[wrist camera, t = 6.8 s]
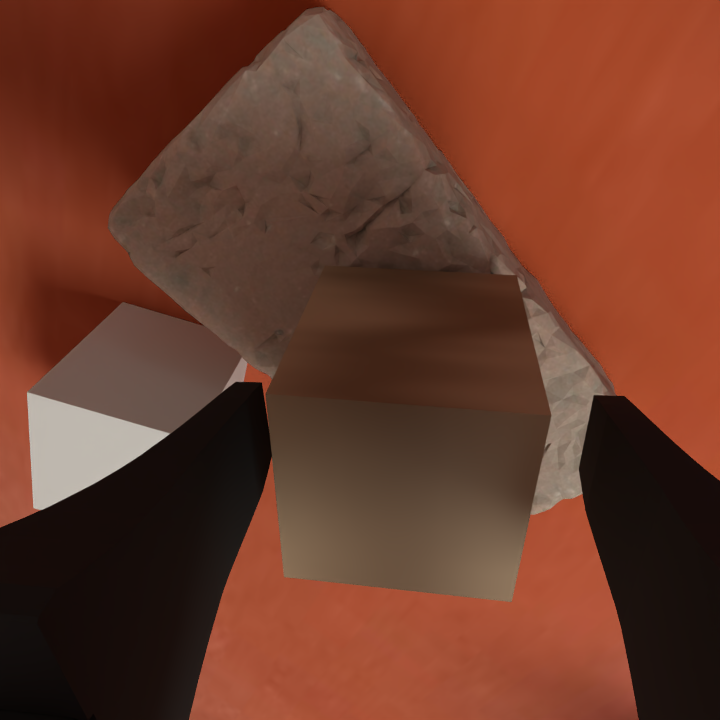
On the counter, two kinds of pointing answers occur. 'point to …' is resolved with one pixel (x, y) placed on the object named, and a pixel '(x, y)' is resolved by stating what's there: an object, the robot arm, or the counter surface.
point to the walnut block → (408, 432)
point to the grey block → (121, 397)
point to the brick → (329, 216)
